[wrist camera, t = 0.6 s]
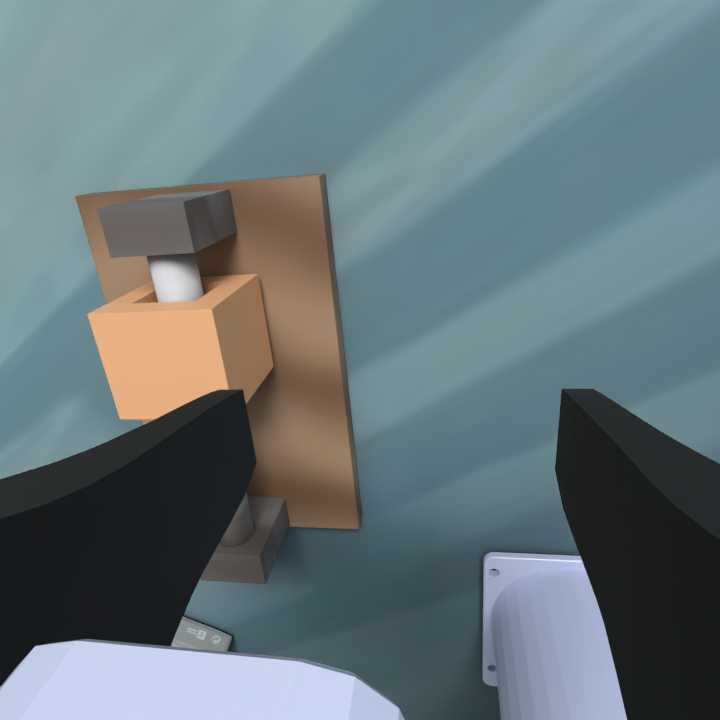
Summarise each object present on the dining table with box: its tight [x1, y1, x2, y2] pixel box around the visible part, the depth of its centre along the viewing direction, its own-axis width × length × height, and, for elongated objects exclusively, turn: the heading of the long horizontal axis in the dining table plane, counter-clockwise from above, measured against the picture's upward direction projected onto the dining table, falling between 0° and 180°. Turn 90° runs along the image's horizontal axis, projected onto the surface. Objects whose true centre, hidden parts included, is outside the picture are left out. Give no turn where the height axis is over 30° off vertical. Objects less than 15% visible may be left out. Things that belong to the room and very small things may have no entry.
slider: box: [87, 274, 274, 419], centre depth 19 cm, size 4×4×4 cm
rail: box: [75, 174, 362, 584], centre depth 22 cm, size 16×10×5 cm, turn 5°
